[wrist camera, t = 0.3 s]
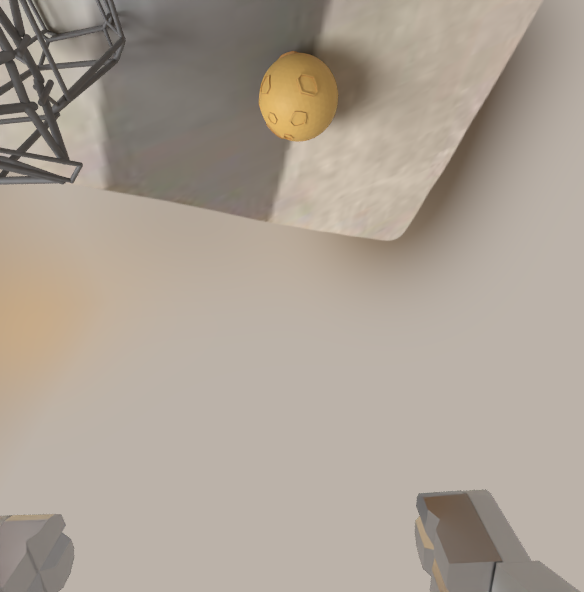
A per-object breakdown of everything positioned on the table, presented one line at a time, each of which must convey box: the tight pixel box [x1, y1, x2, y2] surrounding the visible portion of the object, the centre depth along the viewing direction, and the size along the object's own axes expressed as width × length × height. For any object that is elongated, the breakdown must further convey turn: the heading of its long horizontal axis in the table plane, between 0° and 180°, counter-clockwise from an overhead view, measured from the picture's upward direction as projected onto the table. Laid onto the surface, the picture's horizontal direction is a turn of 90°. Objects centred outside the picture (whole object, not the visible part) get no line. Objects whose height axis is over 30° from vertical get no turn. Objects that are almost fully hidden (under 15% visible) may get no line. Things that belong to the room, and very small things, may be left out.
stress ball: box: [259, 51, 338, 141], centre depth 48 cm, size 10×10×10 cm
